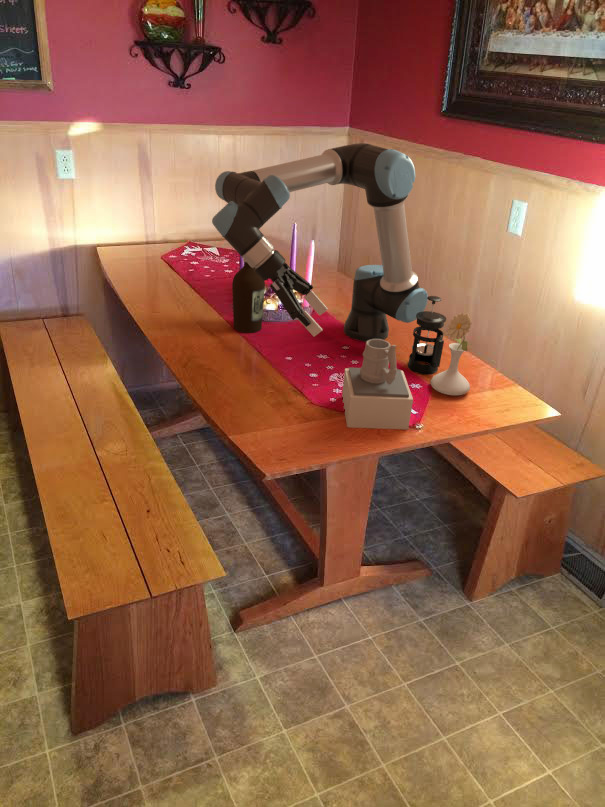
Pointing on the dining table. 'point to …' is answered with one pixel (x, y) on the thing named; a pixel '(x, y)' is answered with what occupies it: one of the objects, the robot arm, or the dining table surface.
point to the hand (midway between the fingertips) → (321, 322)
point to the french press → (424, 350)
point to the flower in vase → (454, 359)
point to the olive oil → (247, 300)
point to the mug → (378, 362)
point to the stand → (376, 402)
